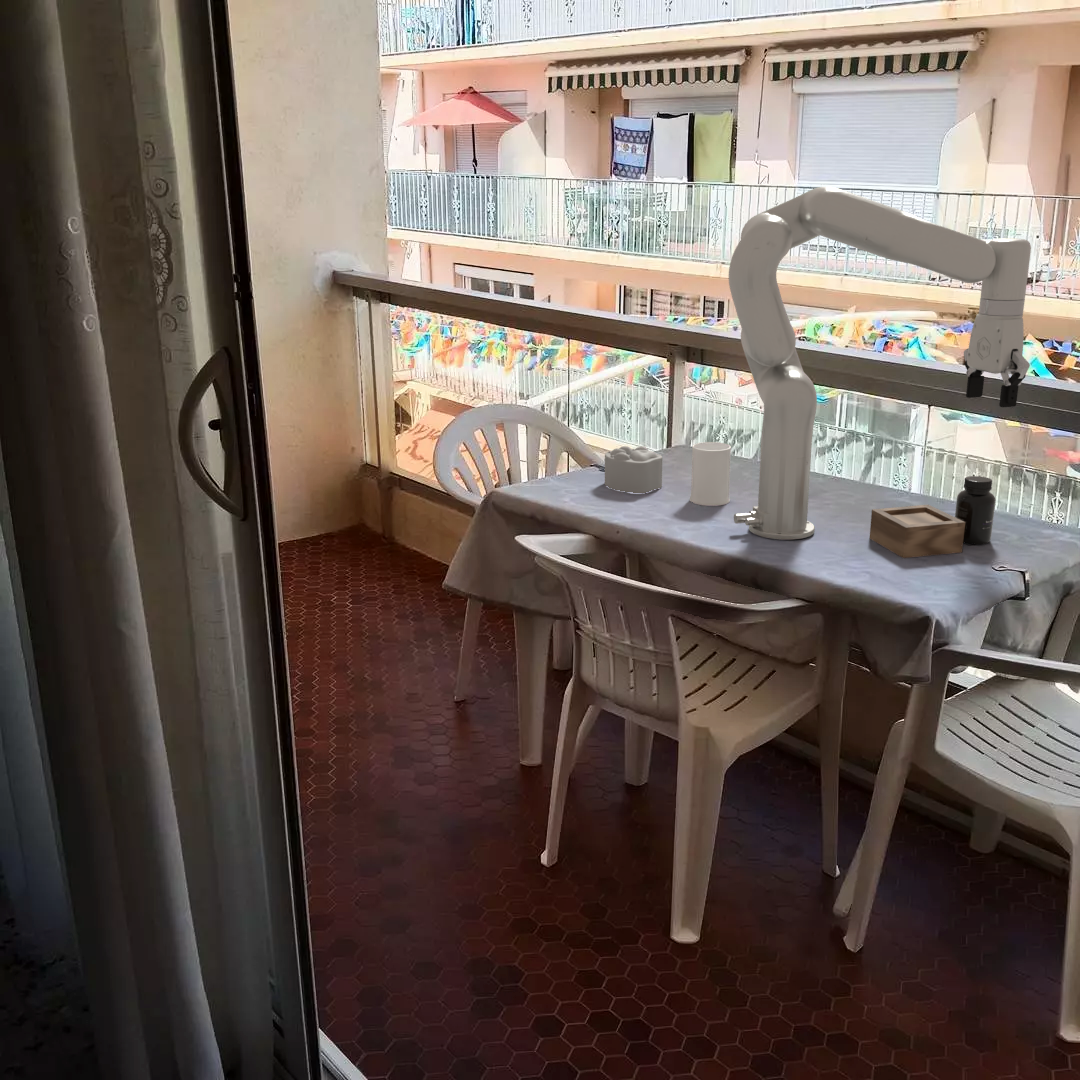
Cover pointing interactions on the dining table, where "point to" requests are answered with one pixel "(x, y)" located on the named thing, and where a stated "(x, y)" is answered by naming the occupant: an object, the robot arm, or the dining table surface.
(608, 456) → the lumpy-topped squat cylinder
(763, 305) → the robot arm
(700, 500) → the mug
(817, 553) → the dining table surface
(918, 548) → the display plinth
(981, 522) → the supplement bottle
